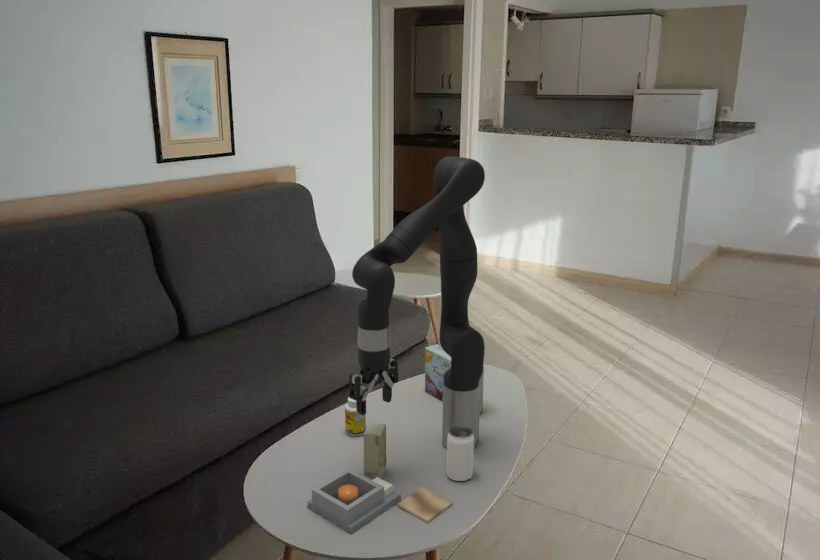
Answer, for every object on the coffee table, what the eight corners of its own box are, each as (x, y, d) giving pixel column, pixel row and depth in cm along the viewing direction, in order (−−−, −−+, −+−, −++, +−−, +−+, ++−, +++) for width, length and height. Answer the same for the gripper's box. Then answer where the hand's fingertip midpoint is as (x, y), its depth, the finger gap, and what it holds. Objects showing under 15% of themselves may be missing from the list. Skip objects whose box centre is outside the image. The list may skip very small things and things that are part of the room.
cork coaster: (422, 489, 157) (422, 486, 157) (453, 504, 152) (453, 502, 151) (397, 506, 151) (397, 504, 151) (427, 523, 145) (427, 520, 145)
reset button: (348, 492, 153) (348, 482, 152) (362, 500, 150) (362, 489, 149) (334, 501, 150) (334, 490, 149) (348, 509, 147) (347, 498, 146)
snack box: (423, 392, 207) (423, 347, 203) (437, 387, 210) (437, 342, 206) (469, 418, 191) (471, 369, 187) (483, 412, 194) (485, 365, 190)
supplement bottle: (342, 429, 184) (342, 395, 181) (361, 425, 186) (361, 392, 183) (349, 438, 179) (348, 404, 176) (368, 434, 181) (368, 400, 179)
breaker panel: (358, 477, 162) (357, 458, 160) (401, 499, 153) (401, 480, 152) (307, 507, 150) (306, 487, 149) (351, 533, 142) (350, 513, 140)
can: (455, 485, 159) (456, 440, 155) (441, 471, 164) (442, 428, 161) (477, 478, 162) (479, 434, 158) (463, 465, 167) (465, 422, 164)
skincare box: (380, 481, 160) (380, 436, 157) (363, 479, 161) (362, 434, 158) (387, 467, 166) (386, 423, 163) (370, 465, 167) (369, 421, 164)
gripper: (363, 357, 146) (364, 423, 151) (406, 339, 157) (406, 401, 161) (340, 348, 151) (341, 413, 156) (383, 331, 162) (383, 392, 166)
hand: (374, 407), depth 159 cm, fingers open, 8 cm apart
